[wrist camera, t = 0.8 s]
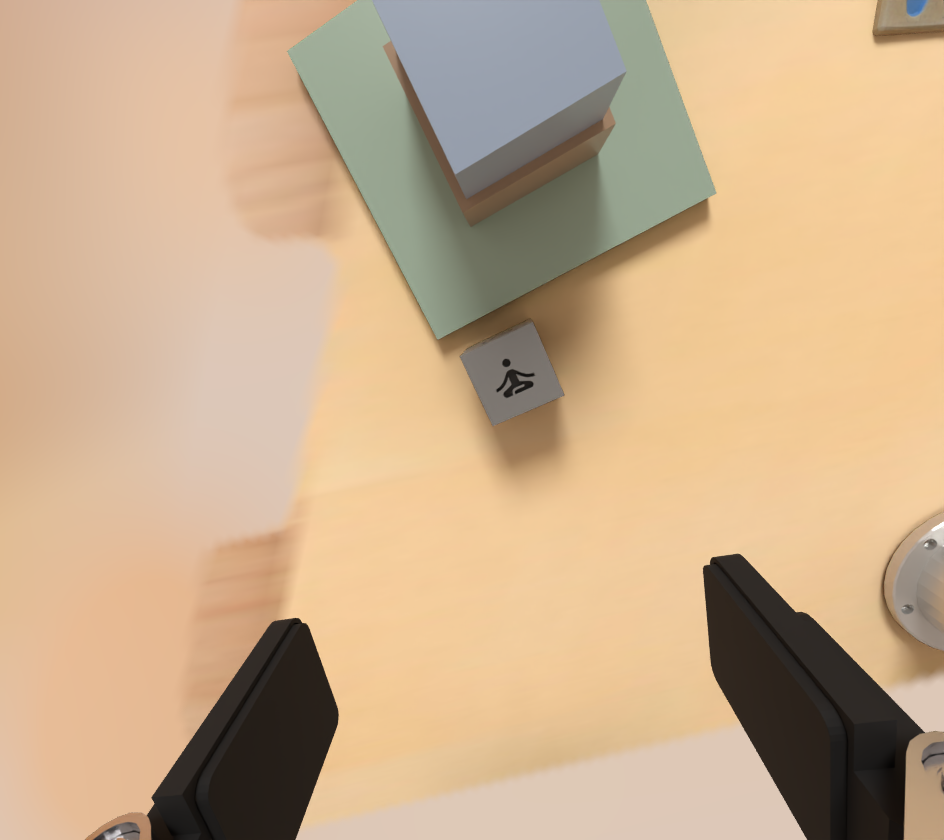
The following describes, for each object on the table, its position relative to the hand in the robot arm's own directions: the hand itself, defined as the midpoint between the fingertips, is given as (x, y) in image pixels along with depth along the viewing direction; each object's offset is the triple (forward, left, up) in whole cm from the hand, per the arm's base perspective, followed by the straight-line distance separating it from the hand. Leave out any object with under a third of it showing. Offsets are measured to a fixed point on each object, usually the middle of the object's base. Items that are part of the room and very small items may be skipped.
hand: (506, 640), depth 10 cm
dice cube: (-1, -3, -25) cm, 25 cm away
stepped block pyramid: (-8, -17, -24) cm, 31 cm away
